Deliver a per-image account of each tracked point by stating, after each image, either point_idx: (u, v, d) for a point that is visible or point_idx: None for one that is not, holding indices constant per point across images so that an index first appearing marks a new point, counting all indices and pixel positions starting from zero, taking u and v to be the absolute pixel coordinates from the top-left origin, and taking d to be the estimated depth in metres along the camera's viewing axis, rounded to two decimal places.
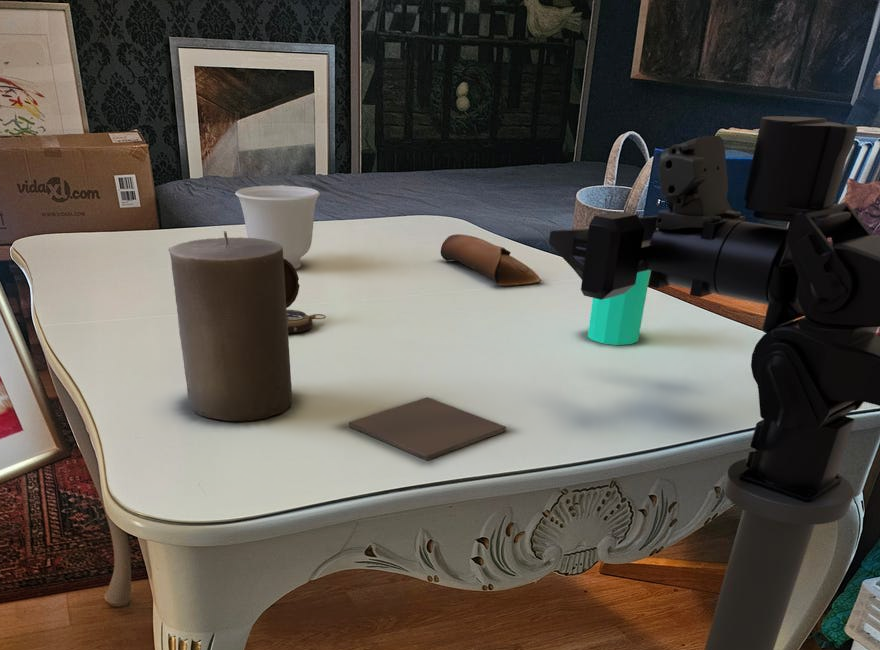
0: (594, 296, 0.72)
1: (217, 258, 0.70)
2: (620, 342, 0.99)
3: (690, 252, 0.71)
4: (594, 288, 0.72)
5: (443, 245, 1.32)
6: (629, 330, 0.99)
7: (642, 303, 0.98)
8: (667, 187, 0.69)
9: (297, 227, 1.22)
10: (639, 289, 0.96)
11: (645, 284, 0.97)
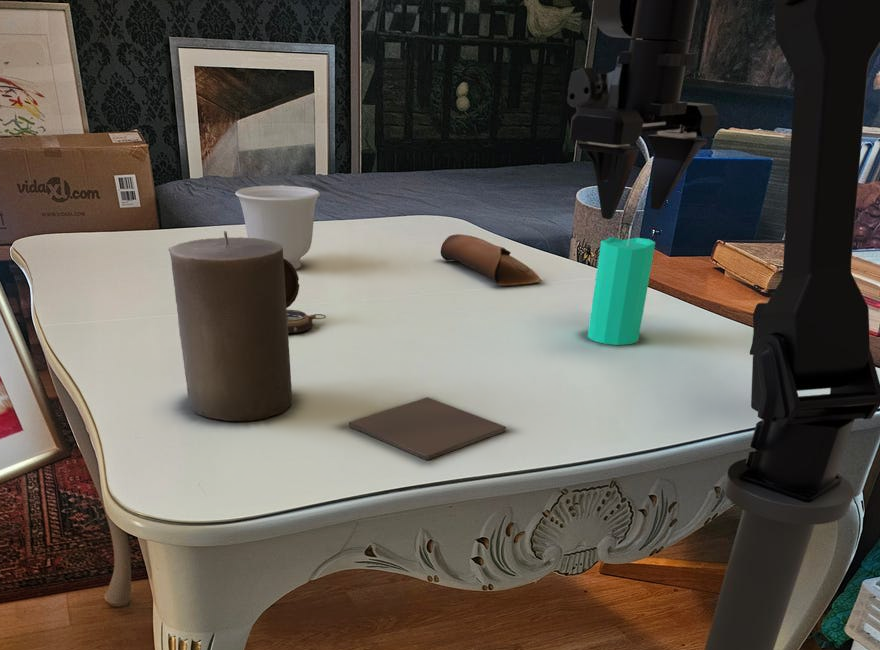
0: (620, 130, 0.82)
1: (217, 258, 0.70)
2: (620, 342, 0.99)
3: (635, 70, 0.85)
4: (611, 128, 0.83)
5: (443, 245, 1.32)
6: (629, 330, 0.99)
7: (642, 303, 0.98)
8: (584, 95, 0.89)
9: (297, 227, 1.22)
10: (639, 289, 0.96)
11: (645, 284, 0.97)
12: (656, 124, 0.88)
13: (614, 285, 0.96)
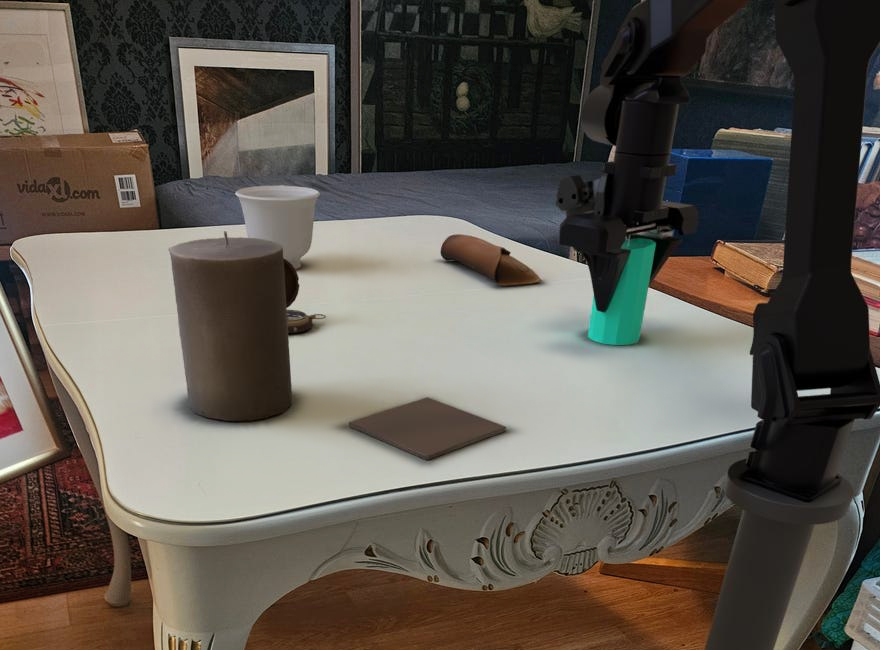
0: (604, 239, 0.88)
1: (217, 258, 0.70)
2: (618, 342, 0.99)
3: (619, 180, 0.91)
4: (596, 237, 0.88)
5: (443, 245, 1.32)
6: (627, 330, 0.99)
7: (641, 303, 0.98)
8: (572, 200, 0.94)
9: (297, 227, 1.22)
10: (637, 289, 0.96)
11: (644, 284, 0.96)
12: (639, 228, 0.93)
13: None
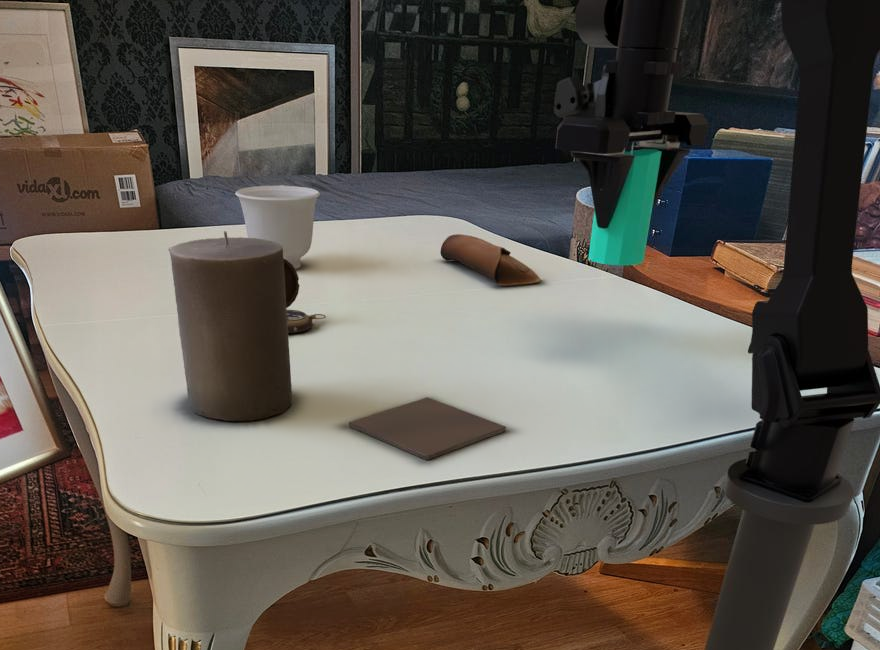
0: (605, 139, 0.81)
1: (217, 258, 0.70)
2: (622, 262, 0.92)
3: (621, 79, 0.84)
4: (597, 137, 0.81)
5: (443, 245, 1.32)
6: (631, 249, 0.92)
7: (646, 219, 0.91)
8: (571, 104, 0.87)
9: (297, 227, 1.22)
10: (642, 202, 0.89)
11: (649, 197, 0.89)
12: (644, 133, 0.86)
13: None
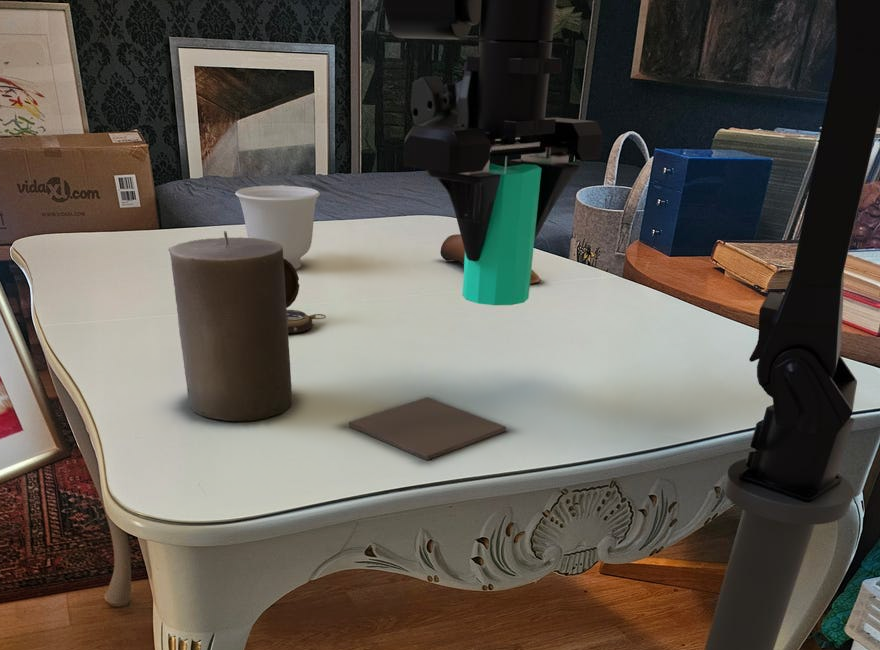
0: (457, 155, 0.65)
1: (217, 258, 0.70)
2: (498, 302, 0.76)
3: (484, 79, 0.68)
4: (446, 152, 0.65)
5: (443, 245, 1.32)
6: (509, 286, 0.75)
7: (526, 250, 0.74)
8: (428, 110, 0.71)
9: (297, 227, 1.22)
10: (518, 230, 0.73)
11: (528, 224, 0.73)
12: (516, 146, 0.70)
13: None
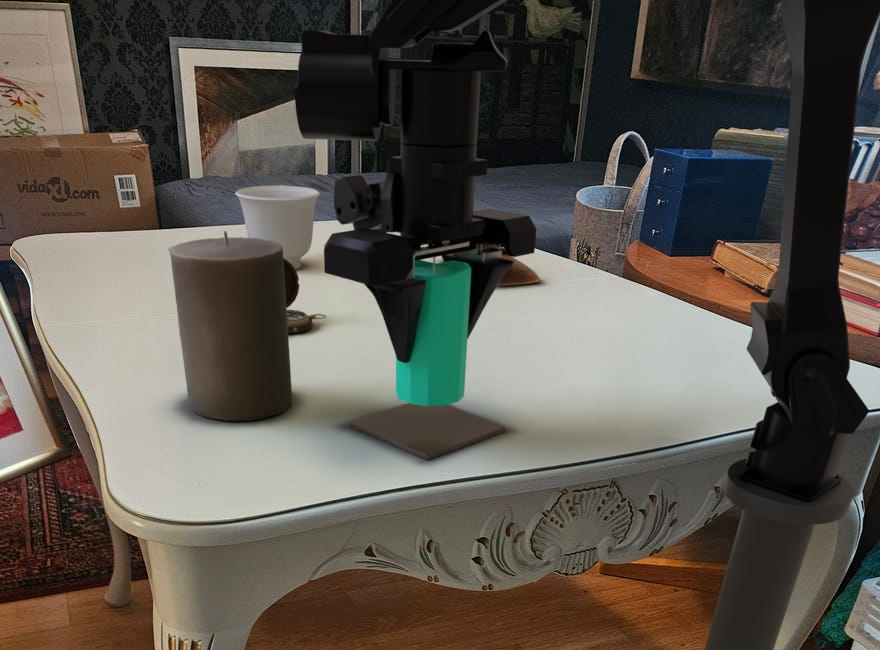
0: (376, 267, 0.62)
1: (217, 258, 0.70)
2: (431, 402, 0.73)
3: (406, 182, 0.65)
4: (365, 264, 0.62)
5: None
6: (441, 387, 0.72)
7: (458, 351, 0.71)
8: (352, 210, 0.68)
9: (297, 227, 1.22)
10: (448, 332, 0.70)
11: (458, 325, 0.70)
12: (443, 249, 0.67)
13: None
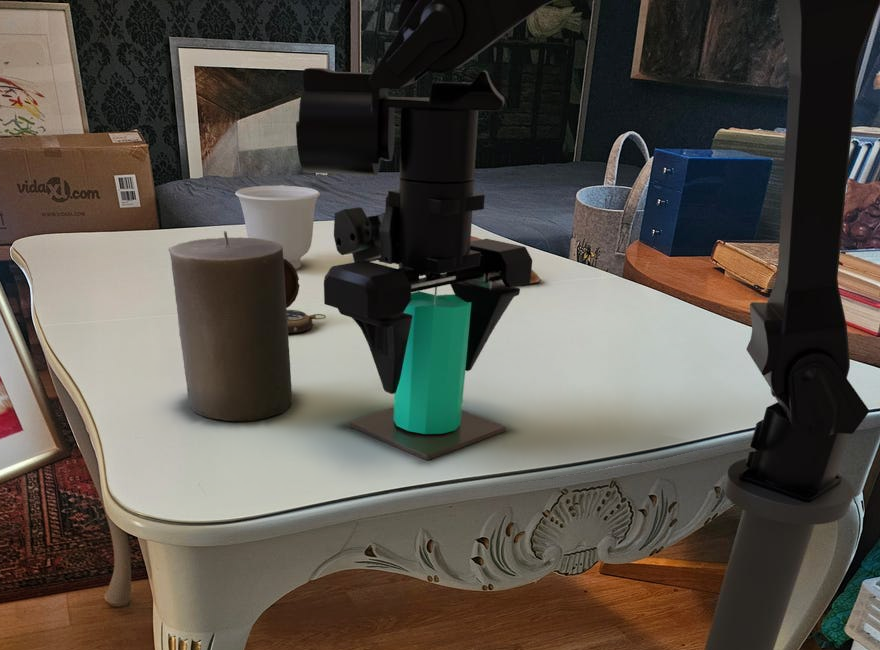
0: (375, 301, 0.63)
1: (217, 258, 0.70)
2: (399, 424, 0.76)
3: (404, 216, 0.66)
4: (364, 298, 0.63)
5: None
6: (406, 412, 0.74)
7: (424, 383, 0.72)
8: (351, 242, 0.69)
9: (297, 227, 1.22)
10: (412, 361, 0.72)
11: (425, 358, 0.71)
12: (440, 281, 0.68)
13: None
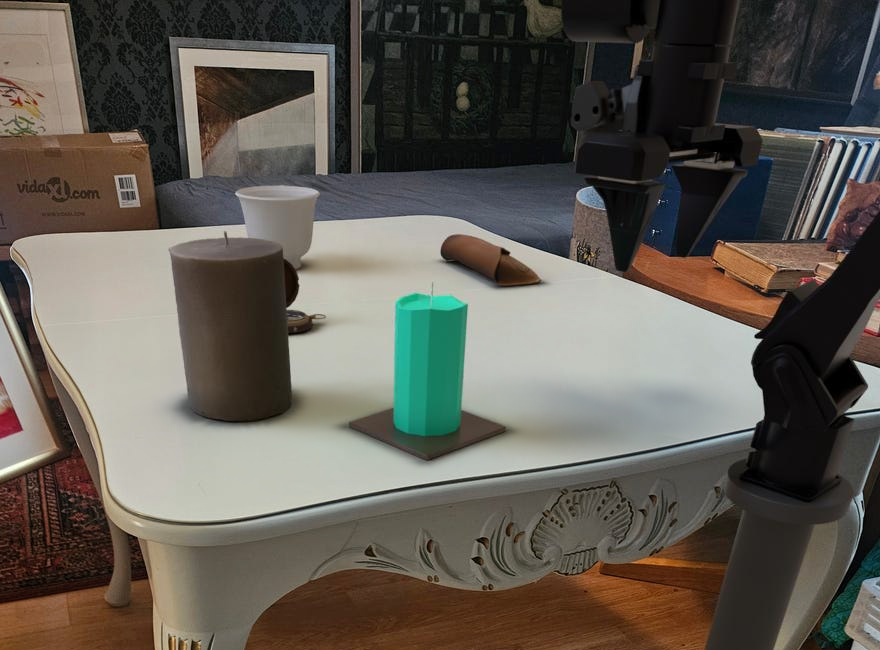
0: (640, 162, 0.63)
1: (217, 258, 0.70)
2: (399, 426, 0.76)
3: (658, 84, 0.66)
4: (629, 160, 0.63)
5: (443, 245, 1.32)
6: (405, 414, 0.75)
7: (422, 386, 0.72)
8: (593, 115, 0.69)
9: (297, 227, 1.22)
10: (410, 364, 0.72)
11: (422, 361, 0.71)
12: (685, 153, 0.68)
13: None
